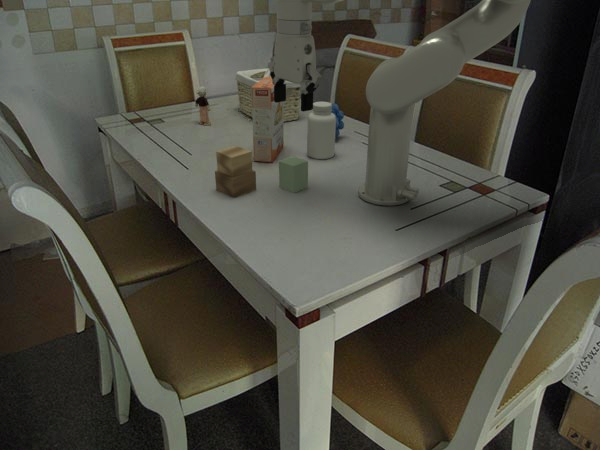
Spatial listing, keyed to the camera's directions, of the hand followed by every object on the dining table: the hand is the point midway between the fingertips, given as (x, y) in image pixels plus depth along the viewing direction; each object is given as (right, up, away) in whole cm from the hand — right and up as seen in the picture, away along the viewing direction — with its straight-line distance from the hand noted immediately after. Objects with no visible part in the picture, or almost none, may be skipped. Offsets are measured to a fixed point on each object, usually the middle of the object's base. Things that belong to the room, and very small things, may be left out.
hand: (293, 105), depth 118 cm
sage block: (0, -18, +8) cm, 20 cm away
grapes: (+11, -1, +41) cm, 42 cm away
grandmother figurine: (-31, +7, +57) cm, 65 cm away
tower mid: (-14, -15, +5) cm, 21 cm away
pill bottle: (+8, -8, +29) cm, 31 cm away
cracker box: (-7, -7, +30) cm, 31 cm away
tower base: (-14, -19, +7) cm, 25 cm away
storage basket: (-10, +12, +66) cm, 68 cm away
